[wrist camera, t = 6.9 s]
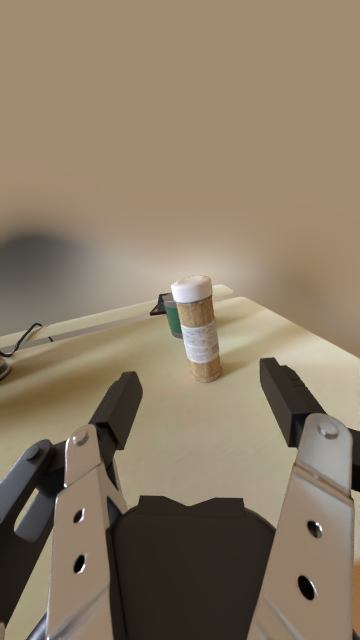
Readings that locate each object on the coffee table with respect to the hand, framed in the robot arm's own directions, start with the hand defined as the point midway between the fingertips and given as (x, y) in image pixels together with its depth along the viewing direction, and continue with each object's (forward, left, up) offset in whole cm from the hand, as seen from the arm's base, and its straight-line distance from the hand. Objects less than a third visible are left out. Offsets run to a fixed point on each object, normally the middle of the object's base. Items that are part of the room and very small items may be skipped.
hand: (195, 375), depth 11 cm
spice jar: (-8, +8, -10) cm, 14 cm away
